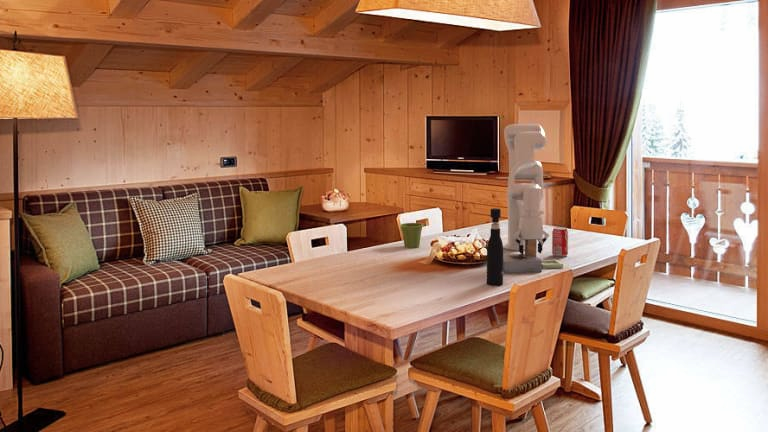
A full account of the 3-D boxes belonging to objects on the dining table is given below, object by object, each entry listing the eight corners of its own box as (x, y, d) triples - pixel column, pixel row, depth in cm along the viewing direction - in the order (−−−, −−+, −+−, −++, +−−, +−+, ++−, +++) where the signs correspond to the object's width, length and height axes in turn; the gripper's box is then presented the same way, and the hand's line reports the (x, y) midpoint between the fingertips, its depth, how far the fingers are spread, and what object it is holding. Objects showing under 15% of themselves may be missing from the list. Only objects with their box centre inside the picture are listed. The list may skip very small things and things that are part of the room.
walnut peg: (524, 261, 337) (525, 226, 335) (533, 261, 338) (533, 226, 335) (527, 263, 333) (528, 228, 331) (536, 263, 334) (536, 227, 331)
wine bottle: (485, 282, 301) (485, 208, 296) (500, 282, 301) (501, 207, 297) (488, 286, 295) (489, 210, 290) (504, 285, 295) (505, 210, 290)
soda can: (568, 257, 345) (568, 229, 343) (551, 257, 347) (552, 229, 345) (567, 254, 352) (568, 226, 350) (551, 253, 354) (552, 226, 352)
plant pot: (411, 243, 382) (411, 221, 380) (428, 246, 374) (428, 224, 372) (394, 247, 374) (394, 224, 373) (411, 250, 366) (411, 227, 364)
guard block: (495, 266, 329) (495, 254, 329) (531, 264, 331) (531, 253, 331) (504, 273, 316) (504, 261, 315) (541, 271, 318) (541, 260, 317)
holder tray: (536, 264, 332) (536, 260, 332) (555, 263, 333) (556, 259, 333) (543, 268, 323) (543, 264, 323) (563, 267, 325) (563, 263, 324)
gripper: (547, 212, 337) (546, 250, 340) (509, 213, 335) (509, 252, 337) (553, 214, 329) (552, 254, 332) (514, 215, 327) (514, 255, 330)
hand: (530, 252), depth 335 cm, fingers open, 7 cm apart
